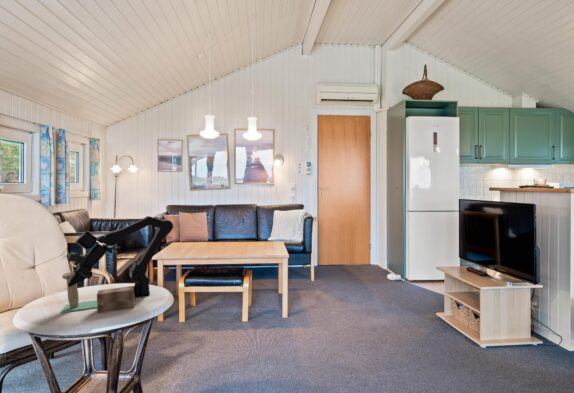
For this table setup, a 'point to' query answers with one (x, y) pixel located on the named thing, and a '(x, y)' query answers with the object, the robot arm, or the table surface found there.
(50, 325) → the table surface
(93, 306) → the mat
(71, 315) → the table surface
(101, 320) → the table surface
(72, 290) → the handle
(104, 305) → the cabinet
